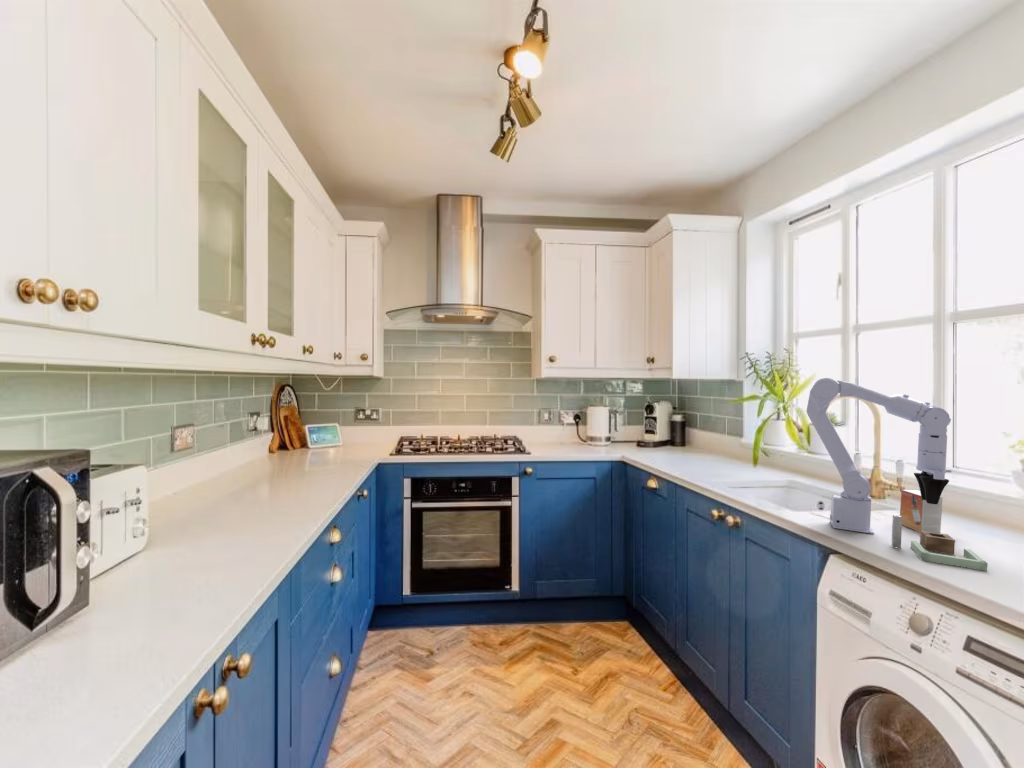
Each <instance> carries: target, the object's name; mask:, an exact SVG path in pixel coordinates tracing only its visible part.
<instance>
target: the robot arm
mask: <svg viewBox="0 0 1024 768" xmlns="http://www.w3.org/2000/svg"><path fill="white" fill-rule="evenodd" d="M838 394H839V397H840V398H843V397H855V398H857V399H861V400H863V401H866V402H870V403H873V404H876V405H879V406H882V407H884V409H885V411H886V412H887V413H888V414H891V415H893V416H895V417H899V418H902V419H904V420H907V421H909V422H913V423H919V433H918V442H917V461H916V462H917V465H916V467H915V469H916V470H917V471H920V472H914V473H913V475H914V477H915V479H916V481H917V483H918V487H919V491H920V493H921V497H922V500H926V502H927V503H929V504H938V502H939V499H940V497H942V493H943V492H944V491H943V490H944V489H945V488H946V486H947V485H948V484H949V482H950V480H949V479H946V477H945V475H946V473H952V469H950V468H947V467H946V465H947V449H948V447H947V446H948V444H947V443H948V435H947V432H948V428H947V427H948V426H949V425H950V423H951V420H952V419H951V418H950V414H949V413H948V412H947V411H946V410H945V409H944V408H942V407H937V406H935V405H931V402H929V401H925V402H922V401H920V400H917V399H914V398H910V395H908V394H905V393H903V394H900V393H897V394H893V395H890V396H889V395H886V394H883V393H880V392H878V391H875V390H872V389H869V388H868V387H867V388H866V387H864V386H862V385H859V384H855V383H854V382H853V383H852V382H848V381H843V380H838V379H837V380H836V379H833V378H830V377H823V378H820V379H818V380H816V382H814V385H812V387H811V388H810V391H809V395H808V401H807V406H806V407H807V408H806V415H807V416H808V417H809V420H810V422H811V423H812V425H813V426H814V427H813V428H814V429H815V431H816V433H817V434H818V436H819V438H820V440H821V441H822V443H823V445H824V447H825V449H826V451H827V453H828V454H829V456H830V458H831V460H832V461H833V463H834V465H835V467H836V469H837V472H838V473H839V476H840V478H841V480H842V485H843V491H842V492H841V491H840V494H839V495H837V494H833V495H831V500H830V513H829V522H830V525H831V526H832V528H834V529H838V530H846V531H851V532H852V531H853V532H859V533H864V534H872V535H873V534H875V532H874V530H873V529H872V528H871V517H872V515H871V514H872V513H871V512H872V497H871V496H870V494H871V491H872V487H871V484H870V482H869V479H868V477H867V476H866V475H865V474H863V473H862V472H860V470H859V469H858V467H857V465H856V464H855V462H854V460H853V459H852V457H851V455H850V453H849V452H848V450H847V448H846V446H845V445H844V442H843V441H842V439H841V437H840V435H839V434H838V432H837V430H836V428H835V427H834V425H833V423H832V421H831V420H830V418H829V416H828V414H827V412H828V408H829V406H830V403H831V402H832V401H833V400H834V399H835V398H837V396H838Z"/></svg>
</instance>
